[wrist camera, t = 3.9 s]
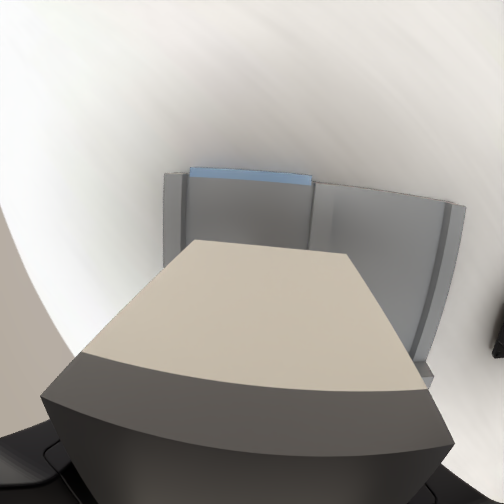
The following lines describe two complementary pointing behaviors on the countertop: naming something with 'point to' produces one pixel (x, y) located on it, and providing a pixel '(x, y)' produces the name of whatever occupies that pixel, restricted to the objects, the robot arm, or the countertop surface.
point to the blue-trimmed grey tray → (329, 235)
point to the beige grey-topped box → (249, 388)
